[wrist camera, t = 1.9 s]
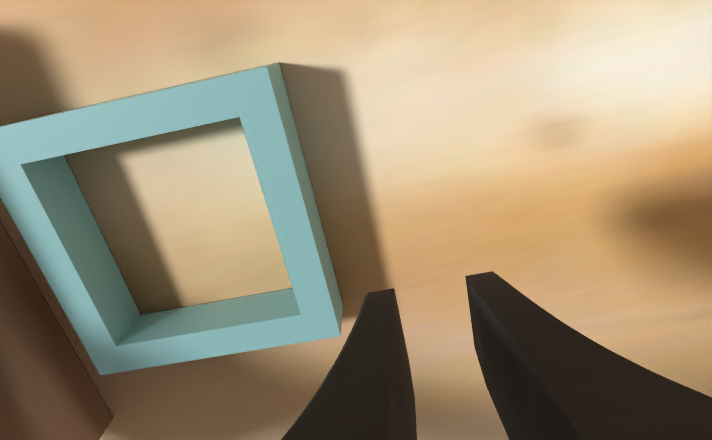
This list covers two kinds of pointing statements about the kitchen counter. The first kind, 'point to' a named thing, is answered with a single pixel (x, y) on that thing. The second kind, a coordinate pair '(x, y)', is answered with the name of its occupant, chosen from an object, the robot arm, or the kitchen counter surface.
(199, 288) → the kitchen counter surface
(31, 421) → the backstop board
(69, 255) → the collar block
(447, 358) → the kitchen counter surface
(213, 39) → the kitchen counter surface
